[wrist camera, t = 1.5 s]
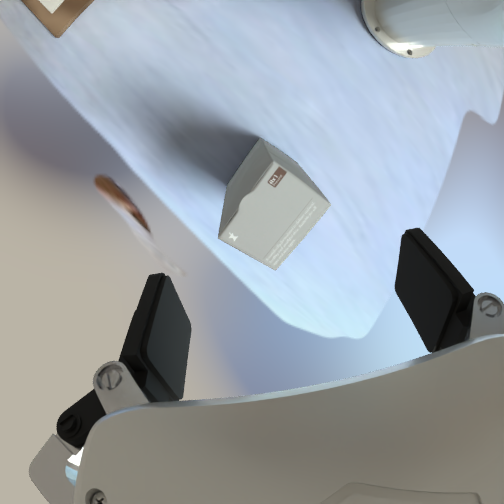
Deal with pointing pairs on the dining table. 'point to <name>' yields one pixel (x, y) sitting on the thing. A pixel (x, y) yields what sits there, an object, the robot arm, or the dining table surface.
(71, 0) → the board
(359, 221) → the dining table surface
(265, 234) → the skincare box
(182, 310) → the robot arm
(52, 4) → the pad
